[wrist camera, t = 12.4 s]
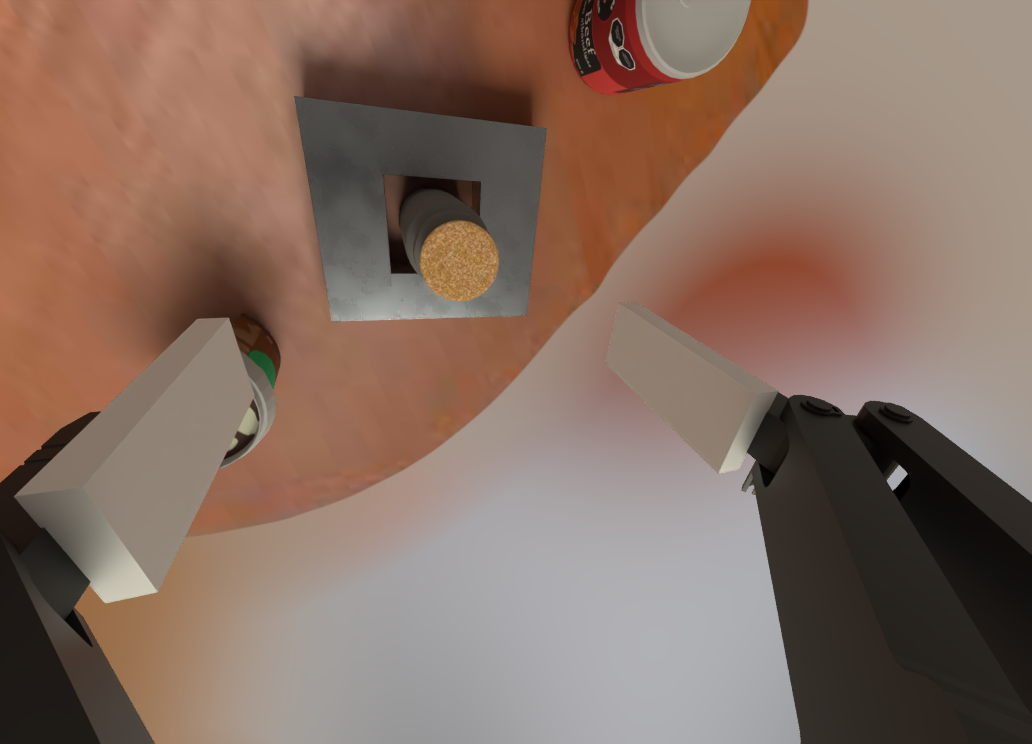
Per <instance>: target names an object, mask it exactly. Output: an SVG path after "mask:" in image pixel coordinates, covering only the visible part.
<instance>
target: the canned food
mask: <svg viewBox="0 0 1032 744" xmlns="http://www.w3.org/2000/svg"><path fill="white" fill-rule="evenodd" d="M750 3H751V0H577V2H576V5H575V7H574V10H573V12H572V16H571V21H570V26H569V49H570V54H571V59H572V62H573V65H574V67H575V69H576V71H577V73H578V75H579V77H580V78H581V79H582V80H583V81H584V83H585V84H587V85H588V86H589V87H590V88H592V89H593V90H595V91H597V92H600V93H602V94H607V95H615V94H621V93H626V92H631V91H635V90H640V89H645V88H649V87H654V86H659V85H664V84H668V83H673V82H678V81H681V80H685V79H689V78H693V77H695V76H698V75H701V74H703V73H705V72H707V71H709V70H710V69H712V68H713V67H715V66H716V65H717V64H718V63H719V62H720V61H721V60H722V59H723V58H725V56H726V55H727V54H728V52H729V51H730V50H731V48H732V47H733V46H734V44H735V42H736V40H737V38H738V37H739V35H740V33H741V31H742V28H743V26H744V23H745V21H746V18H747V14H748V11H749V7H750Z"/></svg>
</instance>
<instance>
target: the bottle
mask: <svg viewBox="0 0 1032 744" xmlns="http://www.w3.org/2000/svg"><path fill="white" fill-rule="evenodd" d="M399 225H400V230H401V235H402V239H403V243H404V246H405V250H406V253H407V257H408V259H409V261H410V263H411V265H412V267H413V268H414V270H415V271H416V272H417V273H418V274H419V275H420V276H421V277H422V278H423V279H424V281H425V282H426V283H427V285H428V286H429V287H430V288H431V289H432V290H433V291H434V292H435V293H436V294H438V295H439V296H441V297H443V298H446V299H449V300H453V301H466V300H470V299H473V298H476V297H478V296H479V295H481V294H483V293H484V292H485V291H486V290H487V289H488V288H489V287H490V286H491V284H492V283H493V281H494V280H495V277H496V275H497V272H498V267H499V254H498V250H497V247H496V244H495V242H494V240H493V238H492V237H491V236H490V234H489V232H488V230H487V228H486V226H485V224H484V222H483V221H482V219H481V218H480V216H479V215H478V214H477V213H476V212H475V211H474V210H473V209H471V208H470V207H469V206H467V205H466V204H465V203H463V202H462V201H460V200H458V199H457V198H455V197H454V196H452V195H451V194H449V193H447V192H445V191H444V190H441V189H438V188H433V187H425V188H420V189H417V190H416V191H414V192H412V193H411V194H410V195H409V196H407V198H406V199H405V200H404V202H403V204H402V206H401V209H400V213H399Z"/></svg>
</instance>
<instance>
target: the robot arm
mask: <svg viewBox="0 0 1032 744" xmlns="http://www.w3.org/2000/svg"><path fill="white" fill-rule="evenodd" d="M605 364H606V365H607V366H608V367H609V368H610V369H611V370H612V371H614V372H615V373H616V374H617V375H618V376H619V377H620V378H621V379H622V380H623V381H624V382H625V383H626V384H627V385H628V386H629V387H630V388H631V389H632V390H633V391H634V392H635V393H636V394H637V395H638V396H639V397H640V398H641V399H642V400H643V401H644V402H645V403H646V404H647V405H648V406H649V407H650V408H652V410H654V411H655V412H656V413H657V414H658V415H659V416H660V417H661V418H662V419H663V420H664V421H665V422H666V423H667V424H668V425H669V426H670V427H671V428H672V429H673V430H674V431H675V432H676V433H677V434H678V435H679V436H680V437H681V438H682V439H683V440H684V441H685V442H686V443H687V444H688V445H689V446H690V447H691V448H692V449H693V450H695V452H697V453H698V454H699V455H700V456H701V457H702V458H703V459H704V460H705V461H706V462H707V463H708V464H709V465H710V466H711V467H712V468H713V469H714V470H715V471H716V472H717V473H723V472H728V471H733V470H738V469H739V468H740V466H741V464H742V462H743V460H744V458H745V456H746V454H747V453H748V454H750V455H751V456H752V457H753V458H754V459H756V461H755V463H754V465H753V467H752V469H751V471H750V473H749V474H748V476H747V478H746V480H745V482H744V484H743V486H742V491H744V492H746V490H747V489H748V487H749V486H751V485H754V490H753V492H752V494H754V495H756V499H757V504H758V509H759V514H760V520H761V525H762V531H763V536H764V541H765V547H766V552H767V557H768V563H769V568H770V574H771V579H772V584H773V589H774V595H775V600H776V606H777V611H778V616H779V622H780V627H781V632H782V638H783V643H784V648H785V654H786V659H787V664H788V670H789V675H790V681H791V686H792V691H793V696H794V702H795V707H796V713H797V718H798V723H799V729H800V737H801V744H1032V502H1030V501H1029V500H1028V499H1026V498H1025V497H1024V496H1022V495H1021V494H1020V493H1019V492H1017V491H1016V490H1015V489H1013V488H1012V487H1011V486H1009V485H1008V484H1007V483H1006V482H1004V481H1003V480H1002V479H1000V478H999V477H998V476H996V475H995V474H994V473H993V472H991V471H990V470H989V469H987V468H986V467H985V466H983V465H982V464H981V463H979V462H978V461H977V460H975V459H974V458H973V457H971V456H970V455H969V454H968V453H966V452H965V451H964V450H962V449H961V448H960V447H958V446H957V445H956V444H955V443H953V442H952V441H951V440H949V439H948V438H947V437H945V436H944V435H943V434H942V433H940V432H939V431H937V430H936V429H935V428H934V427H932V426H931V425H930V424H928V423H927V422H926V421H924V420H923V419H922V418H920V417H919V416H917V415H916V414H914V413H912V412H910V411H909V410H907V409H905V408H904V407H902V406H899V405H895V404H892V403H884V402H880V401H869V402H866V403H865V404H864V405H863V407H862V409H861V410H860V412H859V413H858V415H857V416H853V415H845V414H844V413H843V412H842V411H841V410H840V409H839V408H838V407H836V406H834V405H832V404H830V403H828V402H825V401H824V400H821V399H817V398H814V397H811V396H805V395H793V396H792V397H790V398H789V399H788V398H787V397H785V396H783V395H782V394H780V393H779V392H778V390H776V389H775V388H773V387H771V386H770V385H768V384H767V383H765V382H763V381H762V380H760V379H758V378H757V377H755V376H754V375H752V374H750V373H749V372H747V371H746V370H744V369H742V368H741V367H739V366H738V365H736V364H734V363H733V362H731V361H730V360H728V359H726V358H725V357H723V356H721V355H720V354H718V353H717V352H715V351H713V350H712V349H710V348H709V347H707V346H705V345H704V344H702V343H701V342H699V341H697V340H696V339H694V338H693V337H691V336H689V335H688V334H686V333H684V332H683V331H681V330H680V329H678V328H676V327H675V326H673V325H671V324H670V323H668V322H667V321H665V320H663V319H662V318H660V317H659V316H657V315H655V314H654V313H652V312H651V311H649V310H647V309H646V308H644V307H643V306H641V305H639V304H638V303H636V302H622V303H621V302H620V303H618V308H617V313H616V317H615V321H614V326H613V331H612V335H611V340H610V344H609V349H608V353H607V357H606V362H605ZM254 396H255V395H254V392H253V389H252V386H251V383H250V380H249V377H248V374H247V371H246V368H245V365H244V362H243V359H242V356H241V353H240V350H239V347H238V344H237V341H236V338H235V335H234V332H233V329H232V326H231V323H230V320H229V318H205V319H197V320H196V321H195V322H194V323H193V324H192V325H191V326H189V327H188V328H187V329H186V330H185V331H184V332H183V333H182V334H181V335H180V336H179V337H178V338H177V339H176V340H175V341H174V342H173V343H172V344H171V345H170V346H169V347H168V348H167V349H166V350H165V351H164V352H163V353H162V354H161V355H159V356H158V357H157V358H156V359H155V360H154V361H153V362H152V363H151V364H150V365H149V366H148V367H147V368H146V369H145V370H144V371H143V372H142V373H141V374H140V375H139V376H138V377H137V378H136V379H135V380H134V381H133V382H132V383H131V384H129V385H128V386H127V387H126V388H125V389H124V390H123V391H122V392H121V393H120V394H119V395H118V396H117V397H116V398H115V399H114V400H113V401H112V402H111V403H110V404H109V405H108V406H107V407H106V408H105V409H104V410H103V411H100V412H90V413H88V414H86V415H84V416H83V417H81V418H79V419H77V420H75V421H74V422H72V423H70V424H68V425H66V426H65V427H63V428H61V429H60V430H59V431H58V432H57V433H55V434H54V435H53V436H52V437H51V438H50V439H49V440H48V441H47V442H45V443H44V444H43V445H42V446H41V447H42V448H41V450H36V451H35V452H34V453H33V454H32V455H31V456H30V457H29V458H28V459H26V460H25V461H24V463H25V464H24V465H20V466H19V467H18V468H16V469H15V470H14V471H13V472H12V473H11V474H10V475H9V476H8V477H6V478H5V479H4V480H3V481H2V482H1V483H0V744H155V743H154V741H153V740H152V738H151V736H150V734H149V732H148V731H147V729H146V727H145V726H144V723H143V722H142V720H141V718H140V716H139V715H138V713H137V711H136V709H135V708H134V706H133V704H132V702H131V701H130V699H129V697H128V695H127V693H126V692H125V690H124V688H123V686H122V685H121V683H120V681H119V680H118V678H117V676H116V674H115V673H114V671H113V669H112V667H111V665H110V664H109V662H108V660H107V658H106V657H105V655H104V653H103V651H102V649H101V648H100V646H99V644H98V643H97V640H96V639H95V637H94V635H93V633H92V632H91V630H90V628H89V626H88V625H87V623H86V621H85V619H84V618H83V616H82V615H81V614H80V613H79V612H78V611H77V610H76V609H75V608H74V606H75V605H76V603H77V602H78V600H79V599H80V597H81V596H82V594H83V593H84V591H85V590H86V588H87V587H88V585H90V586H91V587H92V588H93V590H94V591H95V592H96V593H97V594H98V595H99V596H100V598H101V599H102V600H103V601H104V602H105V603H109V602H113V601H118V600H123V599H128V598H133V597H137V596H142V595H147V594H151V593H156V592H158V591H159V589H160V587H161V584H162V583H163V581H164V578H165V576H166V574H167V572H168V570H169V568H170V566H171V564H172V562H173V560H174V558H175V556H176V554H177V552H178V550H179V548H180V546H181V544H182V542H183V540H184V538H185V536H186V534H187V532H188V530H189V528H190V526H191V524H192V522H193V520H194V518H195V516H196V514H197V512H198V510H199V508H200V505H201V503H202V501H203V499H204V497H205V495H206V493H207V491H208V489H209V487H210V485H211V483H212V481H213V479H214V477H215V475H216V473H217V471H218V469H219V467H220V465H221V463H222V461H223V459H224V457H225V455H226V453H227V451H228V449H229V447H230V445H231V443H232V441H233V439H234V437H235V435H236V432H237V430H238V428H239V426H240V424H241V422H242V420H243V418H244V416H245V414H246V412H247V410H248V408H249V406H250V404H251V402H252V400H253V398H254ZM898 465H900V466H901V467H902V468H903V469H904V470H905V471H906V472H907V473H908V474H907V476H906V477H905V478H904V479H903V480H902V482H901V483H900V484H899V485H898V487H897V488H896V489H894V490H893V491H892V489H891V488H890V486H889V484H888V483H887V481H886V480H887V479H888V478H889V477H890V475H891V474H892V473H893V472H894V470H895V469H896V468H897V467H898Z"/></svg>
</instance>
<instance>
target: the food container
mask: <svg viewBox="0 0 1032 744" xmlns="http://www.w3.org/2000/svg"><path fill="white" fill-rule="evenodd" d="M231 326H232V329H233V332H234V335H235V338H236V341H237V344H238V347H239V350H240V353H241V356H242V359H243V362H244V365H245V368H246V371H247V374H248V377H249V380H250V383H251V386H252V389H253V392H254V395H255V396H254V398H253V400H252V402H251V404H250V406H249V408H248V410H247V412H246V414H245V416H244V418H243V420H242V422H241V424H240V426H239V428H238V430H237V432H236V435H235V437H234V439H233V441H232V443H231V445H230V447H229V449H228V451H227V453H226V455H225V457H224V459H223V461H222V463H221V465H220V467H219V469H221V468H223V467H225V466H227V465H230V464H232V463H233V462H235V461H236V460H238V459H240V458H241V457H243V456H245V455H246V454H247V453H248V452H250V451H251V450H252V449H253V448H254V447H255V446H256V445H257V444H258V443H259V441H260V440H261V439H262V438H263V437H264V436H265V434H266V433H267V432H268V431H269V429H270V427H271V425H272V423H273V420H274V417H275V413H276V401H275V395H274V391H273V389H274V385H275V382H276V378H277V375H278V371H279V368H280V353H279V349H278V347H277V344H276V342H275V341H274V339H273V337H272V336H271V335H270V334H269V333H268V331H267V330H266V329H265V328H263V327H262V326H261V325H260V324H259V323H257V322H256V321H255V320H253V319H252V318H250V317H248V316H246V315H244V314H241V315H240V316H239V318H238V319H237V320H236V321H235V322H234V323H233V324H232V325H231Z"/></svg>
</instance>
